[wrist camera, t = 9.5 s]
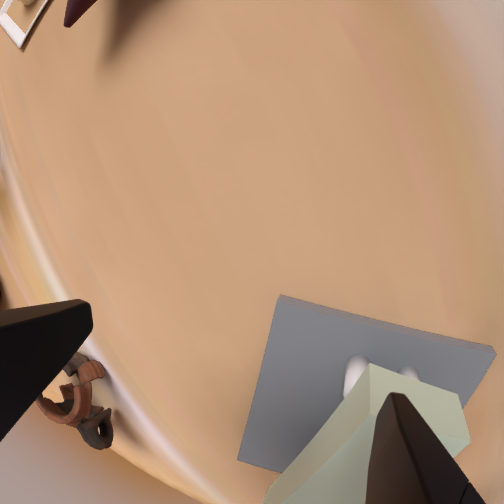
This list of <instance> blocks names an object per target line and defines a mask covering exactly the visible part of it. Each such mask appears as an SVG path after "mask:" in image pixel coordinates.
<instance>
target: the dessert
mask: <svg viewBox="0 0 504 504" xmlns="http://www.w3.org/2000/svg"><path fill="white" fill-rule="evenodd" d="M12 1H13V0H6V1H5V3H4V4H3V6H2V8H1V10H0V25H1V26H2V27H3V29H4V30H5V31H6V33H7V34H8V35H9V36H10V38H11V39H12V40H13V41H14V43H15V44H16V45H17V46H18V47H19V48H20V47H21V46H22V44H23V43H24V41H25V40H26V38H27V36H28V34H29V32H30V30H31V29H32V27H33V25H34V23H35V22H36V20H37V18H38V17H39V15H40V13H41V12H42V10H43V8H44V7H45V5H46V4H47V2H48V1H49V0H46V1H45V2H44V4H43V5H42V7H41V8H40V10H39V12H38V13H37V15H36V17H35V18H34V20H33V22H32V24H31V25H30V27H29V29H28V31H27V32H26V34H24V33H23V32H22V30H21V29H20V28H19V27H18V26H17V25H16V24H15V23H14V22H13V21H12V20H11V18H10V17H9V16H8V15H7V14H6V11H7V10H8V8H9V6H10V4H11V3H12ZM18 1H20V2H21V3H23V4H24V5H26V6H27V5H30V4H31V3H33V2H34V1H35V0H18Z"/></svg>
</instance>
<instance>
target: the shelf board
mask: <svg viewBox="0 0 504 504" xmlns="http://www.w3.org/2000/svg"><path fill="white" fill-rule="evenodd" d="M390 392H397V393H403V394H405V395H406V396H407V397H408V399H409V400H410V401H411V403H412V404H413V405H414V407H415V408H416V409H417V411H418V412H419V413H420V415H421V416H422V417H423V418H424V420H425V421H426V422H427V424H428V425H429V426H430V428H431V429H432V430H433V432H434V433H435V434H436V436H437V437H438V439H439V440H440V441H441V443H442V444H443V445H444V447H445V448H446V449H447V451H448V452H449V453H450V455H451V456H452V458H454V457H455V456H456V455H458V454H459V453H460V452H461V451H462V450H463V449H464V448H465V447H466V446H467V445H468V444H469V443H470V442H471V439H470V436H469V432H468V428H467V424H466V421H465V417H464V414H463V410H462V407H461V404H460V400H459V397H458V394H456V393H453V392H450V391H447V390H444V389H441V388H438V387H435V386H432V385H429V384H426V383H423V382H421V381H418V380H415V379H412V378H409V377H407V376H404V375H401V374H398V373H396V372H393V371H390V370H388V369H385V368H382V367H380V366H377V365H374V364H372V363H369V364H368V366H367V367H366V369H365V370H364V371H363V373H362V374H361V376H360V377H359V379H358V380H357V382H356V383H355V384H354V386H353V387H352V389H351V390H350V391H349V393H348V394H347V395H346V397H345V398H344V400H343V401H342V402H341V404H340V405H339V406H338V408H337V409H336V410H335V411H334V413H333V414H332V415H331V417H330V418H329V419H328V420H327V422H326V423H325V424H324V425H323V427H322V428H321V429H320V430H319V432H318V433H317V434H316V435H315V436H314V438H313V439H312V440H311V441H310V442H309V444H308V445H307V446H306V447H305V448H304V449H303V451H302V452H301V453H300V454H299V455H298V456H297V457H296V459H295V460H294V461H293V462H292V463H291V464H290V465H289V466H288V467H287V469H286V470H285V471H284V472H283V473H282V474H281V475H280V476H279V477H278V478H277V479H276V480H275V481H274V482H273V483H272V484H271V485H270V486H269V487H268V490H267V493H266V495H265V498H264V501H263V504H365V501H366V489H367V475H368V466H369V460H370V455H371V449H372V443H373V436H374V430H375V423H376V418H377V415H378V412H379V411H380V409H381V407H382V405H383V403H384V401H385V399H386V397H387V395H388V394H389V393H390Z"/></svg>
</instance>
